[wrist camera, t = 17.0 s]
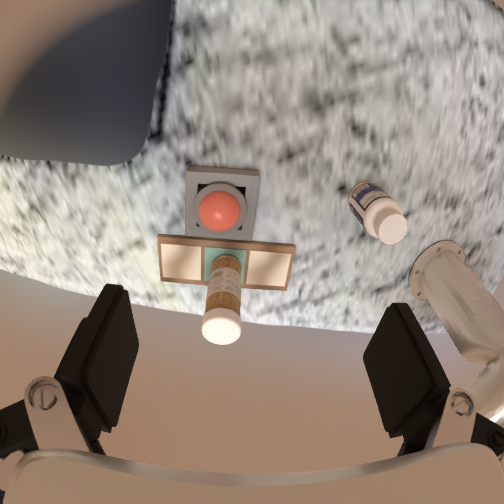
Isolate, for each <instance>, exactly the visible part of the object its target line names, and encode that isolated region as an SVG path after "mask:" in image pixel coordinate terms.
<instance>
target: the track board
mask: <svg viewBox="0 0 504 504" xmlns="http://www.w3.org/2000/svg"><path fill="white" fill-rule="evenodd" d="M157 238H158V253H159V266H160V277H161V281H165V282H176V283H187V284H198V285H209V279H210V275H211V265H212V262H213V261H214V260H215V259H216V258H217V257H219V256H221V255H231V256H234V257H235V258H237V259H238V260H239V262H240V263H241V267H242V270H241V288H250V289H265V290H281V291H287V286H288V282H289V277H290V272H291V268H292V263H293V258H294V253H295V248H296V247H295V245H292V244H280V243H268V242H255V241H243V240H230V239H217V238H204V237H191V236H178V235H164V234H159V235H158V237H157Z"/></svg>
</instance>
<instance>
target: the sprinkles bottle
mask: <svg viewBox="0 0 504 504" xmlns="http://www.w3.org/2000/svg"><path fill="white" fill-rule="evenodd" d="M241 270H242V267H241V263H240V262H239V260H238V259H237V258H235V257H234V256H231V255H221V256H219V257H217V258H216V259H215V260H214V261H213V262H212V265H211V275H210V279H209V285H208V291H207V298H206V310H205V314H204V316H203V320H202V328H201V330H202V334H203V336H204V337H205V338H206V339H207V340H208V341H210V342H212V343H215V344H222V345H223V344H230V343H232V342H234V341H236V340H237V339H238V338H239V337H240V335H241V318H240V306H241Z"/></svg>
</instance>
